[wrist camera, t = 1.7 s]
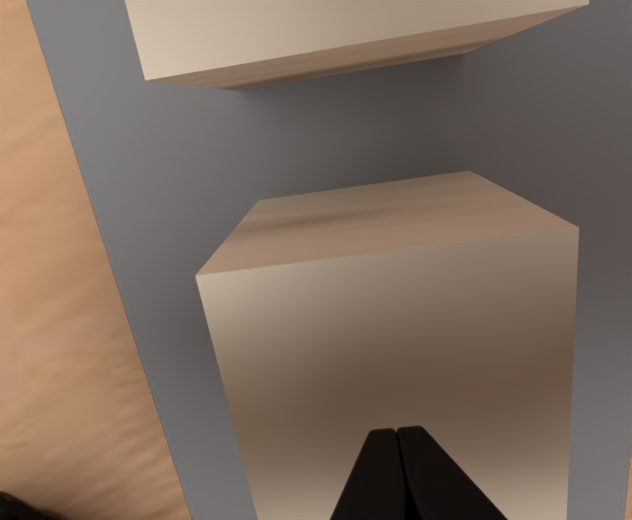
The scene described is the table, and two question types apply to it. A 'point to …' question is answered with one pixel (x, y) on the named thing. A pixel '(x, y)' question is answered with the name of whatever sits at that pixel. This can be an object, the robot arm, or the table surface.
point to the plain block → (398, 338)
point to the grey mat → (342, 172)
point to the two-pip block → (315, 35)
